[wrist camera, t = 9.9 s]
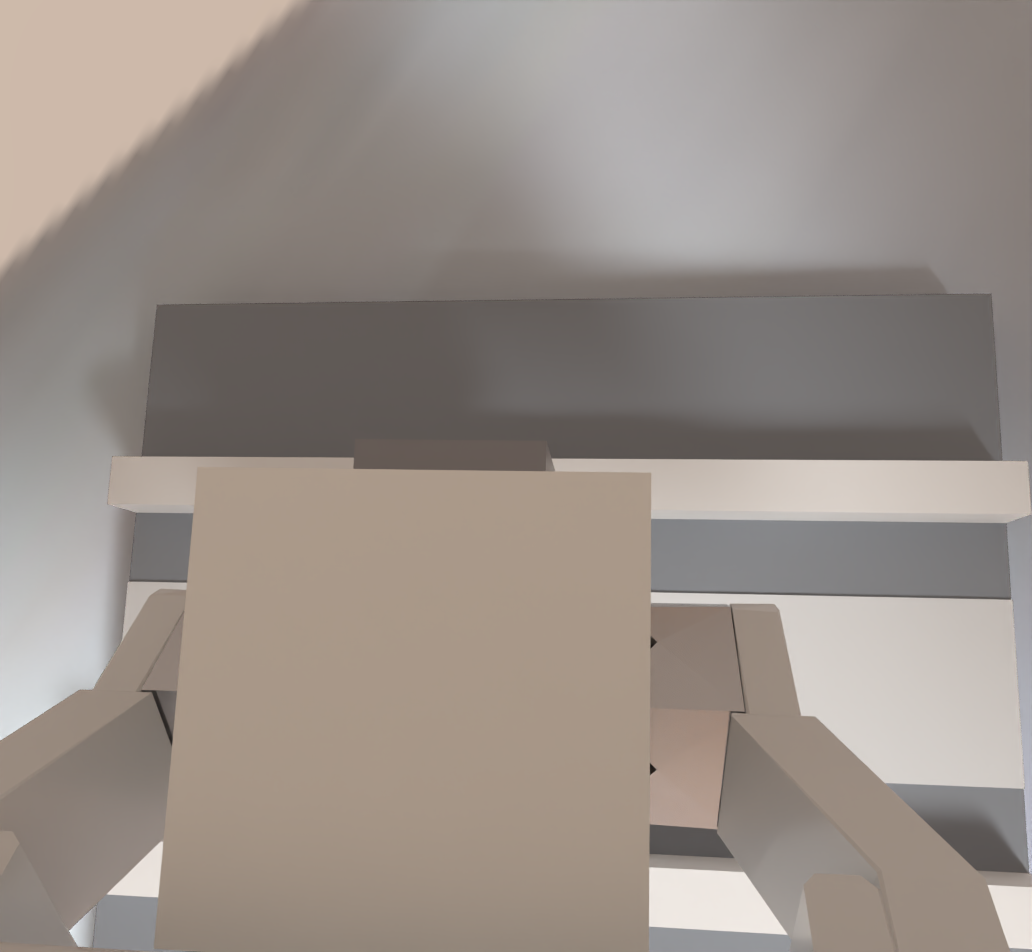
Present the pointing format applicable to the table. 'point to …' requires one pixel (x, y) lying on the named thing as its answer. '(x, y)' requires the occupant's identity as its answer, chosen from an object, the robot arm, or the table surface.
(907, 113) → the table surface
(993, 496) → the rail board
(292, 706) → the rail module
